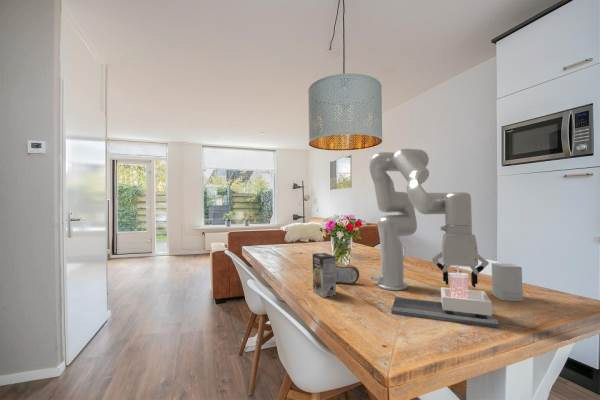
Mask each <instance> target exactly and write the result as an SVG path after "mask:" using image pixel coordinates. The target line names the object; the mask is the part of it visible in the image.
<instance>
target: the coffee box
mask: <svg viewBox="0 0 600 400" xmlns="http://www.w3.org/2000/svg"><path fill="white" fill-rule="evenodd" d="M336 264H337V263H336V255H332V254H330V253H326V252H323V253H321V252H319V253H318V252H317V253H312V284H313V285H312V287H313V288H312V289H313V290H312V291H314V293H315V292H316V293H315V294H316V295H318V294H319V296H320V297H321V296H322V297H321V298H323V297H324V298H328V297H327V296H330V297H334V296H333V295H337V290H336V289H337V287H336V286H337V283H336Z"/></svg>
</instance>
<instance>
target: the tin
mask: <svg viewBox="0 0 600 400" xmlns="http://www.w3.org/2000/svg"><path fill="white" fill-rule="evenodd" d="M359 278H360V271H359V270H358V268H357V267H356V266H354V265H352V264H351V265H350V264H337V263H336V282H337V283H336V284H344V283H348V284H347V285H353V284H355V283H357V282H358V281H359Z"/></svg>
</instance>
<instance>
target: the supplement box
mask: <svg viewBox="0 0 600 400" xmlns="http://www.w3.org/2000/svg"><path fill="white" fill-rule="evenodd" d="M522 271H523V269H522V266H519V265H517V264H513V263H506V262H495V263H494V262H492V263H491V284H492V288H491V290H492V295H493V296H494V297H496V298H497V299H499V300H501V301H507V302H509V301H511V302H523V300H524V295H523V293H524V291H523V272H522Z"/></svg>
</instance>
